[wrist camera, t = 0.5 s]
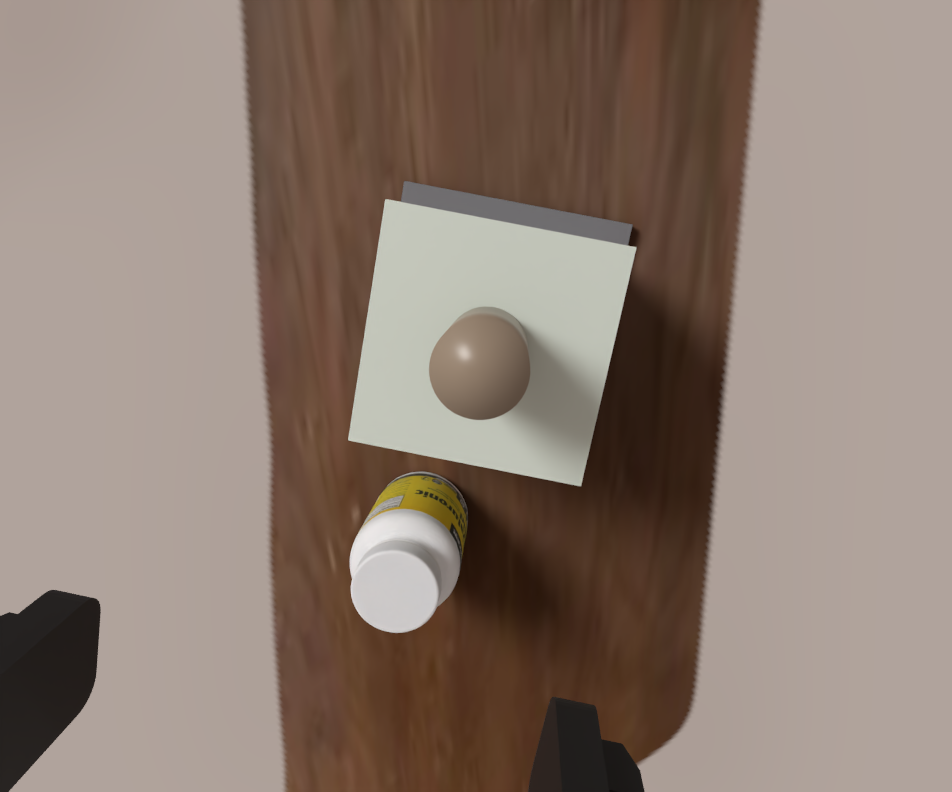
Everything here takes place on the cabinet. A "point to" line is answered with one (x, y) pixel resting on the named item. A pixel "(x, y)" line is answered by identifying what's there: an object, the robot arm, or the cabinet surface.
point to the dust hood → (488, 341)
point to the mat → (516, 213)
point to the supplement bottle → (408, 552)
